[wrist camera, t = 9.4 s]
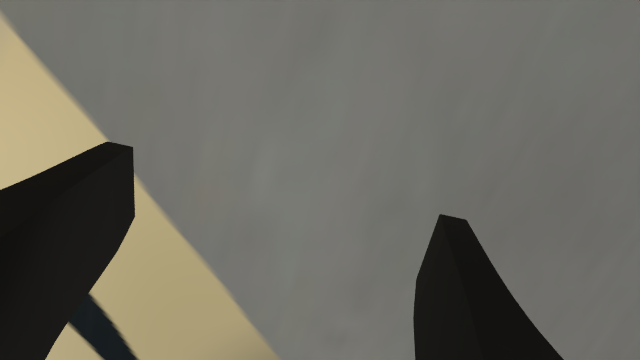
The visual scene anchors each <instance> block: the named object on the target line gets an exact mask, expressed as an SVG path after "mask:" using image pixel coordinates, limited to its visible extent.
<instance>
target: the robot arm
mask: <svg viewBox="0 0 640 360" xmlns="http://www.w3.org/2000/svg"><path fill="white" fill-rule="evenodd" d="M134 217H135V204H134V167H133V147H130V146H126V145H121V144H117V143H112V142H105V143H103V144H100V145H98V146H96V147H94V148H92V149H89V150H87V151H85V152H83V153H81V154H79V155H77V156H75V157H72V158H70V159H68V160H66V161H64V162H62V163H60V164H58V165H56V166H54V167H52V168H50V169H47V170H45V171H43V172H41V173H39V174H37V175H35V176H32V177H30V178H28V179H25V180H23V181H21V182H19V183H16V184H14V185H11V186H9V187H7V188H4V189H2V190H0V360H45V359H46V357H47V355H48V354H49V352H50V349H51V348H52V346H53V345H54V343H55V341H56V339H57V338H58V336H59V335H60V333H61V332H62V330H63V329H64V327H65V325H66V324H67V322H68V321H69V320H70V318H71V317H72V315H73V314H74V313H75V311H76V310H77V308H78V307H79V305H80V304H81V303H82V301H83V300H84V298H85V297H86V296H87V294H88V293H89V291H90V290H91V288H92V287H93V286H94V284H95V283H96V281H97V280H98V279H99V277H100V276H101V274H102V273H103V271H104V270H105V268H106V267H107V266H108V264H109V263H110V261H111V260H112V258H113V257H114V255H115V254H116V252H117V251H118V249H119V247H120V245H121V243H122V241H123V239H124V237H125V236H126V233H127V232H128V229H129V227H130V225H131V223H132V221H133V219H134ZM413 319H414V341H415V360H564V359H563V358H562V357H561V356H560V355H559V354H558V353H557V352H556V351H555V349H554V348H553V347H552V346H551V345H550V344H549V342H548V341H547V340H546V339H545V338H544V337H543V335H542V334H541V333H540V332H539V331H538V329H537V328H536V327H535V326H534V324H533V323H532V322H531V321H530V319H529V318H528V317H527V315H526V314H525V312H524V311H523V310H522V308H521V307H520V306H519V304H518V303H517V302H516V300H515V299H514V297H513V296H512V294H511V293H510V292H509V290H508V289H507V287H506V285H505V284H504V282H503V281H502V279H501V278H500V276H499V274H498V273H497V271H496V270H495V268H494V266H493V265H492V263H491V261H490V260H489V258H488V256H487V255H486V253H485V251H484V250H483V248H482V246H481V244H480V243H479V241H478V239H477V237H476V236H475V234H474V232H473V230H472V229H471V227H470V225H469V224H468V222H467V220H465V219H460V218H456V217H451V216H446V215H442V214H440V215H439V218H438V220H437V223H436V226H435V229H434V232H433V234H432V237H431V240H430V243H429V245H428V248H427V251H426V254H425V257H424V259H423V262H422V265H421V268H420V270H419V273H418V276H417V279H416V290H415V302H414V317H413Z"/></svg>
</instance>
